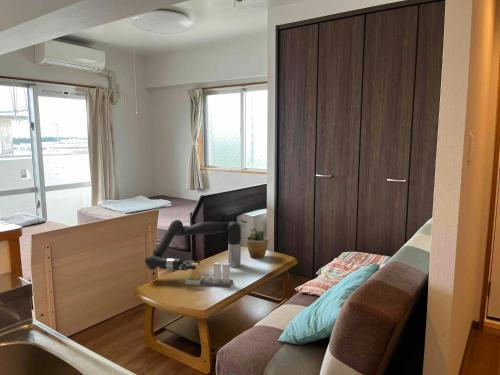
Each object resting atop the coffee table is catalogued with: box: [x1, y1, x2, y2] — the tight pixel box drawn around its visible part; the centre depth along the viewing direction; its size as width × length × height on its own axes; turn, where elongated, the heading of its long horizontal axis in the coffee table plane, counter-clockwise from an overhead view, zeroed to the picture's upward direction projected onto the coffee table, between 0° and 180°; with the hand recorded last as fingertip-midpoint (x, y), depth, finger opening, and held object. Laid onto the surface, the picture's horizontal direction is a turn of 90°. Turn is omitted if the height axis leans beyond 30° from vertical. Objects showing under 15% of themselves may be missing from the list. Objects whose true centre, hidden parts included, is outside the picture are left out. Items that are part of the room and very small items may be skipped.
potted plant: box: [245, 226, 270, 260], centre depth 303 cm, size 18×19×25 cm
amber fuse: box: [190, 262, 200, 281], centre depth 249 cm, size 3×4×12 cm
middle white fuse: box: [213, 261, 222, 282], centre depth 246 cm, size 3×4×12 cm
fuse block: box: [201, 275, 234, 288], centre depth 247 cm, size 9×19×4 cm, turn 78°
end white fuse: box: [222, 262, 231, 283], centre depth 245 cm, size 3×4×12 cm
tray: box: [184, 274, 206, 287], centre depth 250 cm, size 10×10×3 cm
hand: (197, 265), depth 248 cm, fingers open, 8 cm apart
